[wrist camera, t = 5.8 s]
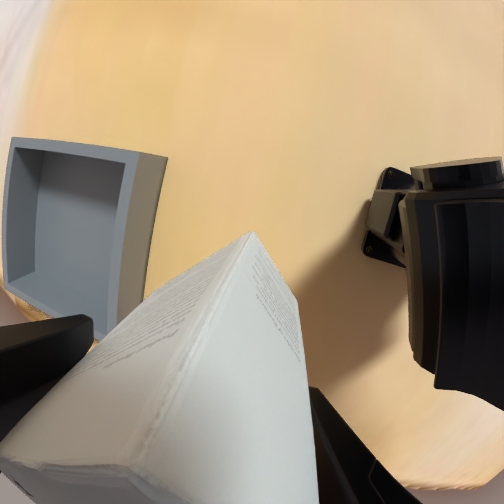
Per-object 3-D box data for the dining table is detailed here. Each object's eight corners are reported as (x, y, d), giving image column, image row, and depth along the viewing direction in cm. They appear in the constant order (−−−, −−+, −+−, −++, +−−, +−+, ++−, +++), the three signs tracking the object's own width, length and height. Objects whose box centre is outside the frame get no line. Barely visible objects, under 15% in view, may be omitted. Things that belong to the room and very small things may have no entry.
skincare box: (203, 352, 15) (108, 553, 3) (156, 287, 14) (-19, 452, 3) (303, 301, 14) (329, 572, 2) (256, 225, 13) (109, 464, 1)
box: (168, 157, 19) (139, 152, 15) (140, 322, 23) (115, 348, 18) (45, 139, 20) (11, 137, 16) (33, 274, 23) (4, 288, 19)
